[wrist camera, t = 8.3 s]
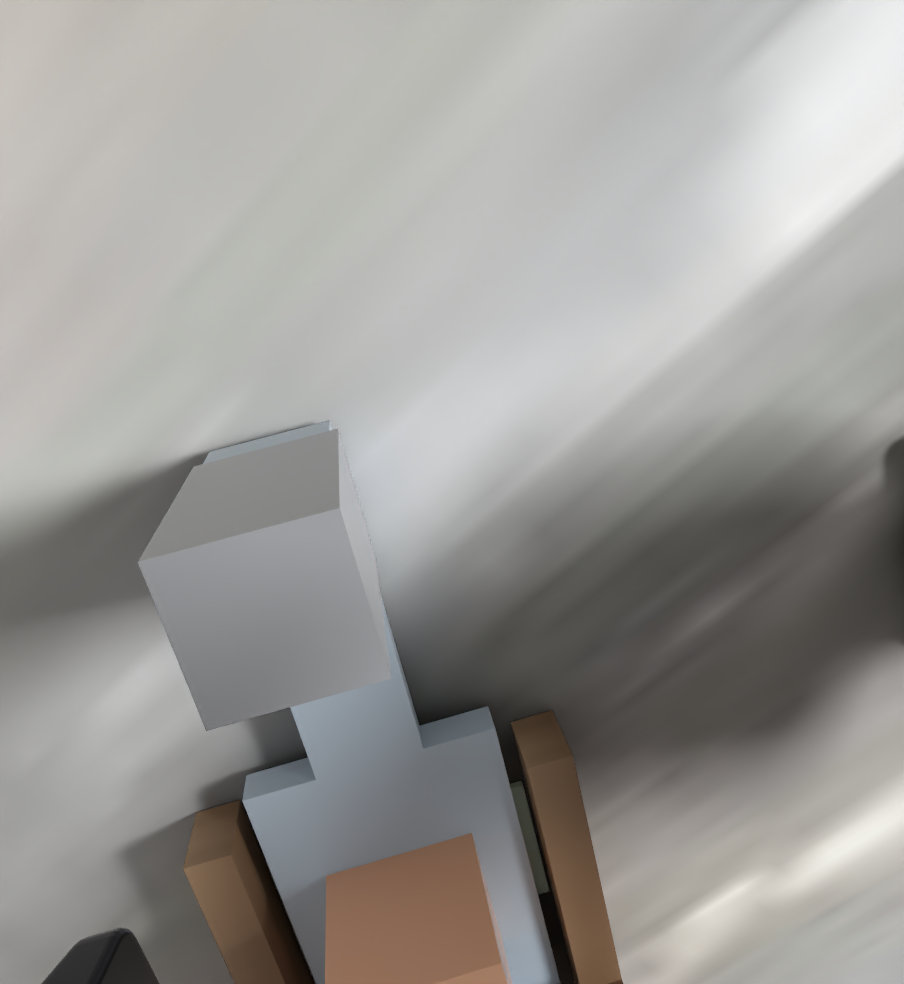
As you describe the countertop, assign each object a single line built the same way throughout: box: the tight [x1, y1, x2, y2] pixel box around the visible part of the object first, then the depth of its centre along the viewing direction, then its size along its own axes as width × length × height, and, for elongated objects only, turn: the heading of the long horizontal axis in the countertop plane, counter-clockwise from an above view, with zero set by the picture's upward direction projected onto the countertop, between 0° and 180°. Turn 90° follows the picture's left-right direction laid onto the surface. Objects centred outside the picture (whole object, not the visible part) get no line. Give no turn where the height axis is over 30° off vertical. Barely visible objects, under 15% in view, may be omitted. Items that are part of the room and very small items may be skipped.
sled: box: [138, 421, 561, 984], centre depth 18 cm, size 7×19×6 cm, turn 14°
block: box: [325, 833, 512, 984], centre depth 20 cm, size 4×4×4 cm
